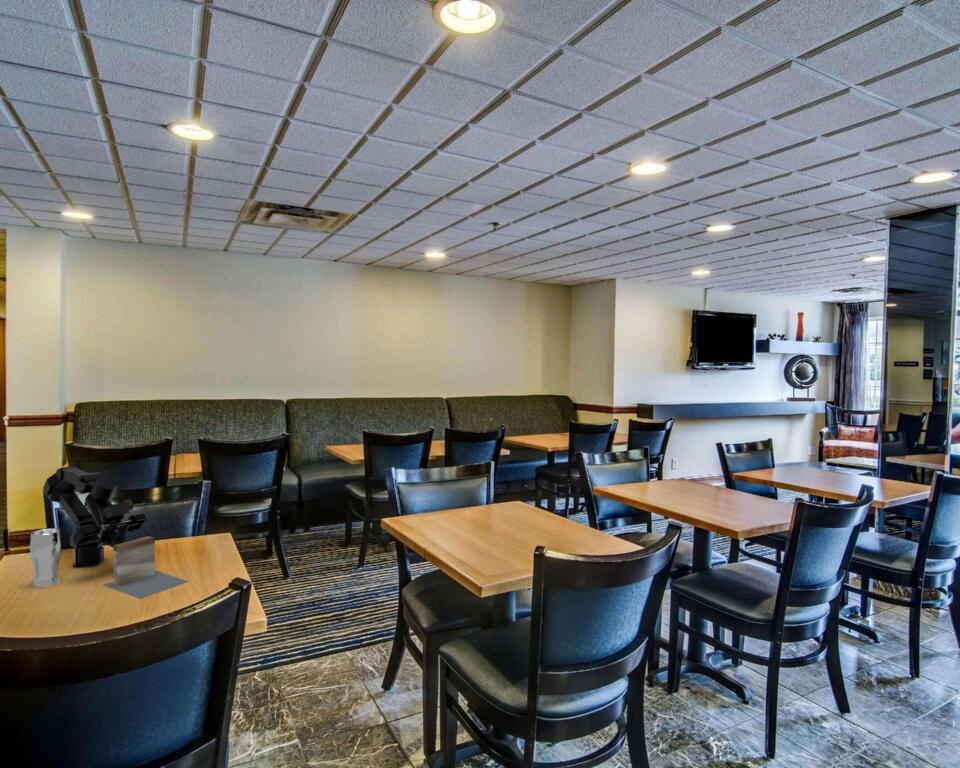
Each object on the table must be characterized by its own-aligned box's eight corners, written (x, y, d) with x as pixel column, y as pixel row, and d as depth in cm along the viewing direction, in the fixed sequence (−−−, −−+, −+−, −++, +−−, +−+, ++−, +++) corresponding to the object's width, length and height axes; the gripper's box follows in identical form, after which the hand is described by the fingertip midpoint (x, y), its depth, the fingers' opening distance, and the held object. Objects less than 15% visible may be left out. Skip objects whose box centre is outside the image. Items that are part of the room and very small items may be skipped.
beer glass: (67, 581, 164) (67, 529, 163) (41, 590, 157) (41, 536, 156) (50, 578, 166) (49, 526, 165) (24, 587, 159) (23, 533, 159)
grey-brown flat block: (113, 584, 161) (113, 545, 161) (148, 572, 170) (148, 536, 170) (119, 586, 160) (119, 547, 159) (154, 574, 169) (154, 537, 168)
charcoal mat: (102, 586, 161) (102, 584, 161) (151, 571, 173) (151, 569, 173) (140, 600, 152) (140, 598, 152) (189, 583, 164) (189, 581, 164)
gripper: (78, 498, 161) (100, 544, 156) (144, 486, 177) (166, 527, 173) (63, 522, 165) (84, 567, 160) (129, 508, 181) (150, 548, 177)
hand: (123, 551), depth 167 cm, fingers closed
